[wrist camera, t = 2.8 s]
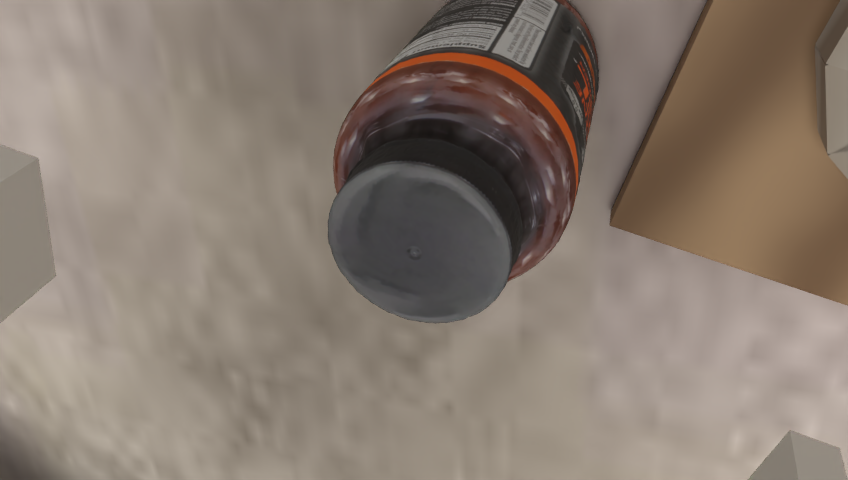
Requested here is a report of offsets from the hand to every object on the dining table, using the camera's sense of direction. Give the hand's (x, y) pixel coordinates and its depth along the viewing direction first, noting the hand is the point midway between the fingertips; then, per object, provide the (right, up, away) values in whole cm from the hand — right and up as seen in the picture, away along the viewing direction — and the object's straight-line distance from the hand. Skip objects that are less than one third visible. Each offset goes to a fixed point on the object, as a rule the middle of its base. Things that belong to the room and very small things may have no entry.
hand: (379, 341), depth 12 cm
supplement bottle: (+4, +8, +11) cm, 14 cm away
